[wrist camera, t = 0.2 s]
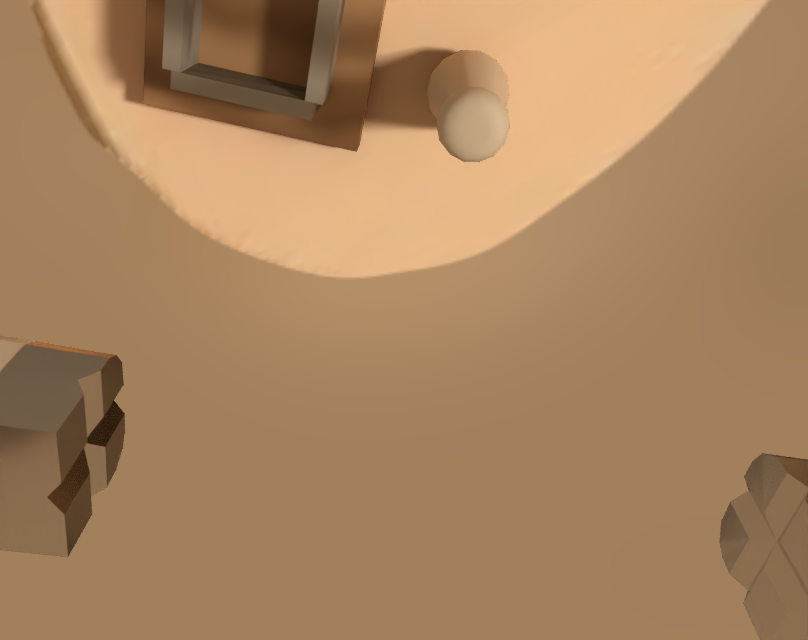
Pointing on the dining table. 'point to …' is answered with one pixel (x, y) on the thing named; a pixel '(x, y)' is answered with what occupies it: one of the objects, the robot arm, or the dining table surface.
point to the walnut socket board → (266, 63)
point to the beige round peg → (470, 105)
